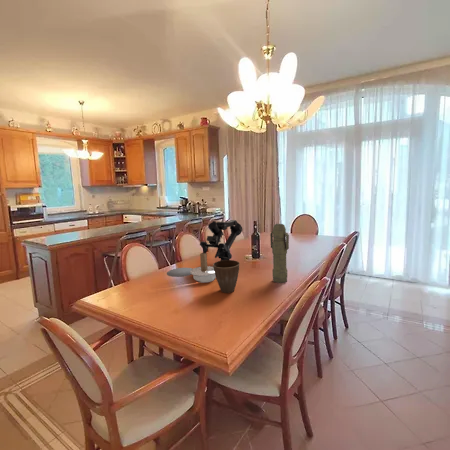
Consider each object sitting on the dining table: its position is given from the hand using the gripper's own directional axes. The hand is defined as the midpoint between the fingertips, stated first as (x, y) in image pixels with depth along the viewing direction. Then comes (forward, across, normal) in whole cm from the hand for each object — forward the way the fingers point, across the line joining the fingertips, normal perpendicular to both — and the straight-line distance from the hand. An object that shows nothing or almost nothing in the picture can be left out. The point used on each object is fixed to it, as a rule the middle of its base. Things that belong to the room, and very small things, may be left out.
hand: (209, 257), depth 189 cm
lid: (+11, +1, 0) cm, 11 cm away
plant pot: (+23, +23, -6) cm, 33 cm away
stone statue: (+4, +47, +12) cm, 48 cm away
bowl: (+14, +1, +3) cm, 15 cm away
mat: (+12, -20, +6) cm, 25 cm away
